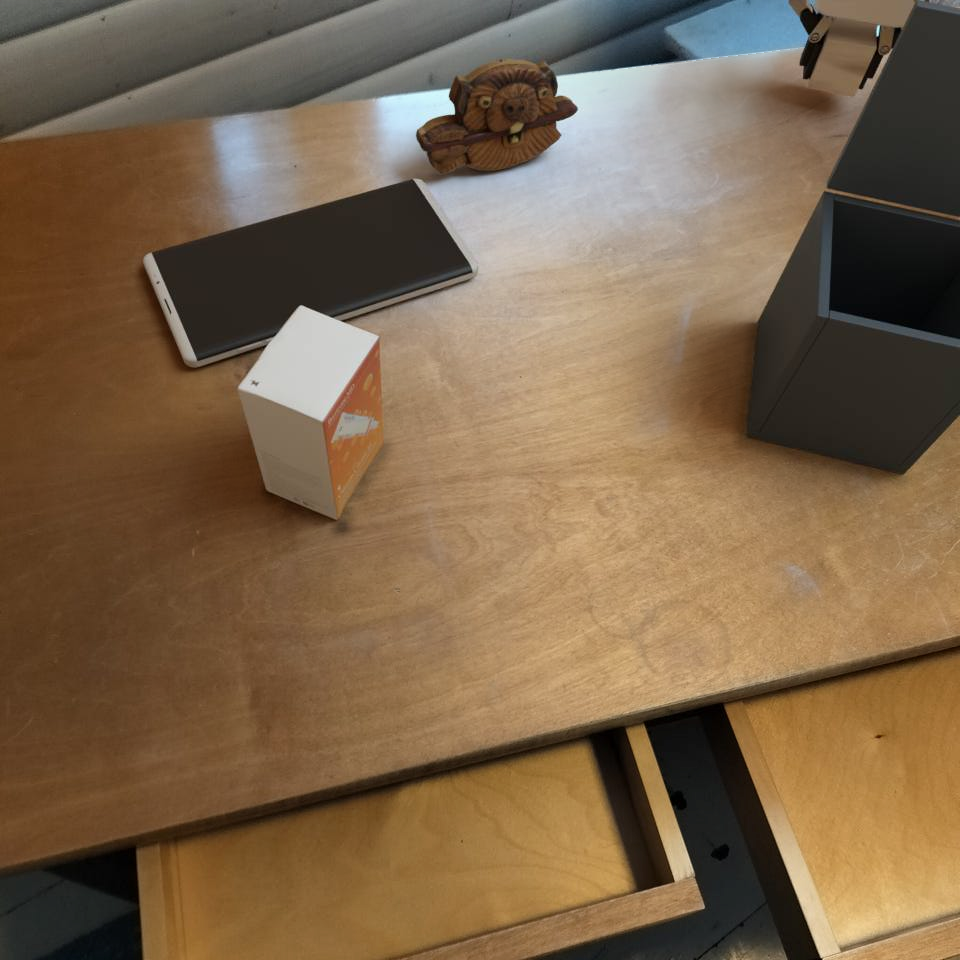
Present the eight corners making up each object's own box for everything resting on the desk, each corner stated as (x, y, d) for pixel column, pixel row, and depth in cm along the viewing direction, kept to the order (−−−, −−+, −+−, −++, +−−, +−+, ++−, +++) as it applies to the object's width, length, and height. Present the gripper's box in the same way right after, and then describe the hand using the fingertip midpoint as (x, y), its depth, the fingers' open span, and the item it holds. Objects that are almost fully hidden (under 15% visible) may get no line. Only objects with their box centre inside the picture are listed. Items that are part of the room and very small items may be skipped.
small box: (338, 523, 64) (322, 424, 53) (264, 491, 65) (233, 387, 54) (387, 442, 68) (381, 333, 57) (316, 413, 69) (297, 301, 58)
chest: (904, 474, 69) (1012, 359, 57) (745, 436, 70) (817, 315, 58) (902, 354, 76) (998, 227, 64) (757, 321, 77) (823, 190, 65)
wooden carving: (432, 199, 83) (434, 108, 74) (412, 170, 85) (412, 78, 76) (577, 156, 87) (594, 65, 79) (554, 129, 89) (569, 38, 81)
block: (809, 62, 94) (828, 12, 90) (855, 70, 94) (877, 21, 89) (807, 88, 92) (827, 39, 87) (854, 97, 91) (876, 48, 87)
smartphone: (481, 280, 78) (482, 266, 76) (189, 375, 70) (184, 361, 68) (420, 188, 83) (420, 173, 82) (144, 267, 76) (139, 252, 74)
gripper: (1005, -113, 78) (911, 71, 94) (818, -143, 80) (756, 43, 95) (1011, -73, 74) (912, 112, 90) (815, -105, 76) (751, 82, 91)
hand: (833, 75), depth 92 cm, fingers closed on block, 5 cm apart
